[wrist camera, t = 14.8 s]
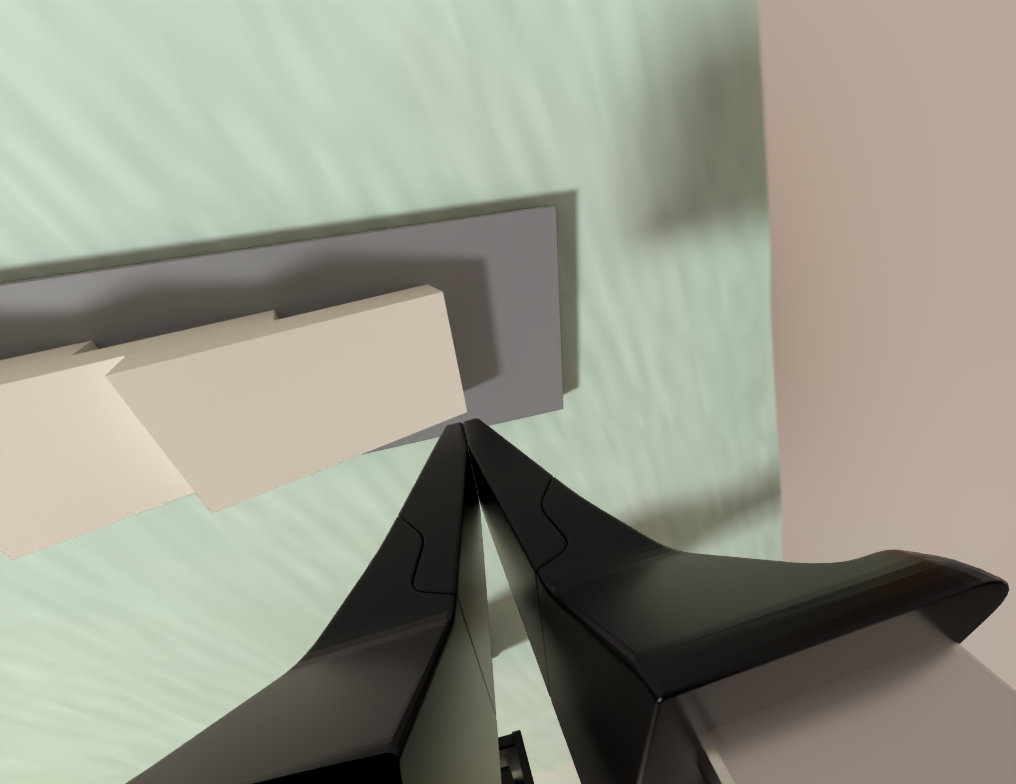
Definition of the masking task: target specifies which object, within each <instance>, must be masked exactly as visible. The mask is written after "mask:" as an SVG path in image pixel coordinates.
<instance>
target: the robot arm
mask: <svg viewBox="0 0 1016 784" xmlns="http://www.w3.org/2000/svg"><path fill="white" fill-rule="evenodd" d="M463 427H464V428H463ZM464 432H465V433H464ZM465 436H466V437H465ZM466 441H467V442H466ZM468 450H469V451H468ZM469 455H470V456H469ZM471 464H472V465H471ZM472 469H473V470H472ZM474 478H475V479H474ZM475 483H476V484H475ZM476 487H477V488H476ZM477 492H478V493H477ZM478 497H479V498H478ZM479 501H480V504H481V507H482V511H483V513H484V516H485V519H486V522H487V525H488V527H489V530H490V533H491V536H492V538H493V541H494V544H495V547H496V549H497V552H498V555H499V558H500V560H501V563H502V566H503V569H504V571H505V574H506V577H507V580H508V582H509V585H510V588H511V591H512V594H513V596H514V599H515V602H516V605H517V607H518V610H519V613H520V616H521V618H522V621H523V624H524V627H525V629H526V632H527V635H528V638H529V640H530V643H531V646H532V649H533V651H534V654H535V657H536V660H537V663H538V665H539V668H540V671H541V674H542V676H543V679H544V682H545V685H546V687H547V690H548V693H549V696H550V697H551V701H552V704H553V707H554V710H555V712H556V715H557V718H558V721H559V723H560V726H561V729H562V732H563V734H564V737H565V740H566V743H567V745H568V748H569V751H570V754H571V757H572V759H573V762H574V765H575V768H576V770H577V773H578V776H579V778H580V781H581V784H1016V691H1015V690H1014V689H1013V688H1011V687H1010V686H1009V685H1008V684H1007V683H1005V682H1004V681H1003V680H1002V679H1001V678H999V677H998V676H997V675H996V674H995V673H993V672H992V671H991V670H990V669H989V668H987V667H986V666H985V665H984V664H982V663H981V662H980V661H979V660H978V659H977V658H975V657H974V656H973V655H972V654H970V653H969V652H968V651H967V650H966V649H965V648H963V647H962V646H961V645H960V643H961V642H962V641H963V640H964V639H965V638H966V637H967V636H969V635H970V634H971V633H972V632H973V631H974V630H975V629H976V628H977V627H978V626H979V625H980V624H981V623H982V622H984V621H985V620H986V619H987V618H988V617H989V616H990V615H991V614H992V613H993V612H994V611H995V610H996V609H997V608H998V607H999V606H1000V605H1001V603H1002V602H1003V601H1004V599H1005V598H1006V596H1007V594H1008V591H1009V586H1008V583H1007V582H1006V581H1005V580H1003V579H1001V578H1000V577H997V576H995V575H993V574H991V573H988V572H986V571H984V570H982V569H980V568H976V567H974V566H971V565H968V564H965V563H962V562H959V561H956V560H953V559H949V558H945V557H940V556H935V555H928V554H922V553H918V552H910V551H903V550H885V551H881V552H876V553H873V554H870V555H867V556H864V557H861V558H858V559H854V560H849V561H845V562H836V563H792V562H783V561H772V560H761V559H750V558H739V557H729V556H718V555H707V554H696V553H687V552H682V551H678V550H675V549H672V548H669V547H666V546H664V545H662V544H660V543H658V542H656V541H654V540H652V539H650V538H648V537H647V536H645V535H643V534H642V533H640V532H638V531H637V530H635V529H633V528H632V527H630V526H628V525H627V524H625V523H623V522H622V521H620V520H618V519H616V518H615V517H613V516H611V515H610V514H608V513H606V512H605V511H603V510H601V509H600V508H598V507H596V506H595V505H593V504H592V503H590V502H589V501H587V500H585V499H584V498H582V497H581V496H579V495H578V494H577V493H575V492H574V491H572V490H571V489H570V488H568V487H567V486H565V485H564V484H563V483H561V482H560V481H559V480H558V479H556V478H555V477H553V476H552V475H551V474H550V473H548V472H547V471H546V470H545V469H543V468H542V467H541V466H539V465H538V464H537V463H536V462H534V461H533V460H532V459H530V458H529V457H528V456H526V455H525V454H524V453H523V452H521V451H520V450H519V449H517V448H516V447H515V446H514V445H512V444H511V443H510V442H508V441H507V440H506V439H504V438H503V437H502V436H501V435H499V434H498V433H497V432H495V431H494V430H493V429H492V428H490V427H489V426H488V425H486V424H485V423H484V422H483V421H481V420H480V419H478V418H475V419H471V420H466V421H464V422H463V424H462V423H461V422H457V423H453V424H448V425H446V427H445V428H444V430H443V432H442V434H441V436H440V438H439V440H438V441H437V443H436V445H435V447H434V449H433V451H432V453H431V455H430V456H429V458H428V460H427V462H426V464H425V466H424V468H423V470H422V471H421V473H420V475H419V477H418V479H417V481H416V483H415V485H414V486H413V488H412V490H411V492H410V494H409V496H408V498H407V500H406V501H405V503H404V505H403V507H402V509H401V511H400V513H399V515H398V517H397V518H396V520H395V522H394V524H393V525H392V527H391V529H390V531H389V533H388V534H387V536H386V538H385V540H384V541H383V543H382V545H381V547H380V548H379V550H378V552H377V553H376V555H375V556H374V558H373V559H372V561H371V562H370V564H369V565H368V567H367V569H366V570H365V572H364V573H363V575H362V576H361V577H360V579H359V580H358V582H357V583H356V585H355V586H354V588H353V589H352V591H351V592H350V594H349V595H348V596H347V598H346V599H345V601H344V602H343V604H342V605H341V607H340V608H339V610H338V611H337V612H336V614H335V615H334V617H333V618H332V620H331V621H330V623H329V624H328V626H327V627H326V628H325V630H324V631H323V633H322V634H321V636H320V637H319V638H318V640H317V641H316V642H315V644H314V645H313V646H312V647H311V648H310V650H309V651H308V652H307V653H306V654H305V655H304V656H303V657H302V659H301V660H300V661H299V662H298V663H297V664H296V665H295V666H293V667H292V668H291V669H290V670H289V671H288V672H286V673H285V674H284V675H282V676H281V677H280V678H278V679H277V680H275V681H274V682H272V683H271V684H270V685H268V686H267V687H265V688H264V689H262V690H261V691H260V692H258V693H257V694H255V695H254V696H252V697H251V698H249V699H248V700H247V701H245V702H244V703H242V704H241V705H239V706H238V707H236V708H235V709H234V710H232V711H231V712H229V713H228V714H226V715H225V716H223V717H222V718H221V719H219V720H218V721H216V722H215V723H213V724H212V725H210V726H209V727H208V728H206V729H205V730H203V731H202V732H200V733H199V734H197V735H196V736H195V737H193V738H192V739H190V740H189V741H187V742H186V743H184V744H183V745H182V746H180V747H179V748H177V749H176V750H174V751H173V752H172V753H170V754H169V755H167V756H166V757H164V758H163V759H161V760H160V761H159V762H157V763H156V764H154V765H153V766H151V767H150V768H148V769H147V770H145V771H144V772H142V773H141V774H139V775H138V776H136V777H135V778H133V779H132V780H130V781H129V782H127V783H126V784H534V781H533V777H532V774H531V770H530V766H529V762H528V758H527V754H526V750H525V747H524V743H523V739H522V735H521V731H520V730H517V731H514V732H512V734H510V735H506V736H502V737H499V738H498V732H497V720H496V707H495V694H494V681H493V668H492V666H493V665H492V655H491V642H490V629H489V616H488V603H487V590H486V577H485V564H484V551H483V538H482V525H481V512H480V504H479Z"/></svg>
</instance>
